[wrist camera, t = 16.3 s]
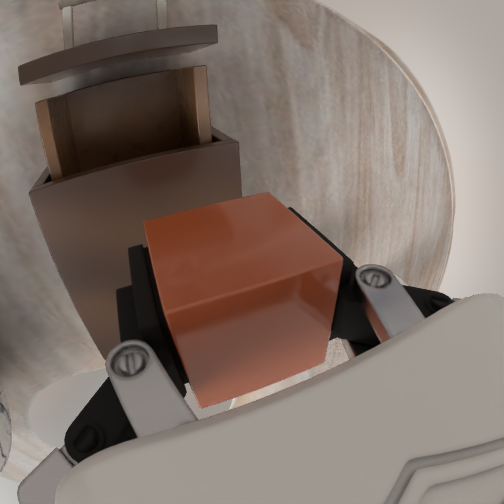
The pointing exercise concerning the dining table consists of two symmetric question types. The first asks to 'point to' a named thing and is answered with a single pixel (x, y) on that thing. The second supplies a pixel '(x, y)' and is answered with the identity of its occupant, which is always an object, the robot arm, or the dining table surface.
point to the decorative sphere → (4, 430)
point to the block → (243, 293)
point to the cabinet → (124, 219)
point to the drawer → (121, 97)
